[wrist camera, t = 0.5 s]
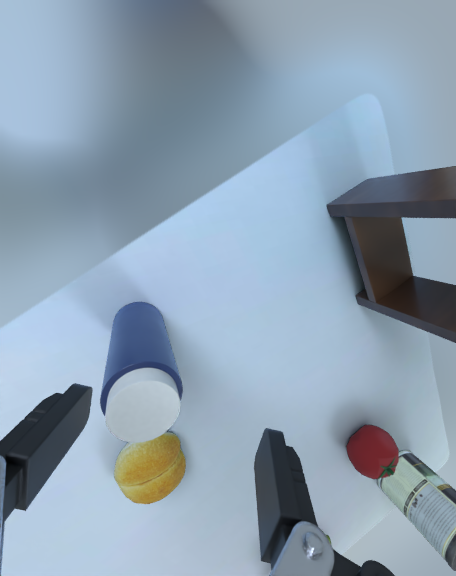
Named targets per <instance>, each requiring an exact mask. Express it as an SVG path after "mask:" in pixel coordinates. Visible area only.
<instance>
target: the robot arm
mask: <svg viewBox="0 0 456 576" xmlns="http://www.w3.org/2000/svg"><path fill="white" fill-rule="evenodd" d="M91 398H92V387H89V386H84V385H80V384H76V383H75V384H73V385H71V386H70V387H69V389H68V390H67V391H66V392H65V393H64V394H60V393H55V394H53V395H52V396H50V397H48V398H46V399H44V400H43V401H42V402H41V403H40V404H39V405H38V406H36V407H35V408H34V409H33V411H31V412H30V413H29V414H28V415H27V416H26V417H25V419H24V420H22V421H21V422H20V423H19V424H18V425H17V426H16V427H15V428H14V429H13V430H11V431H10V432H9V433H8V434H7V435H6V436H5V437H4V438H3V439H2V440H1V441H0V576H1V569H2V555H3V540H4V526H5V520H6V519H7V518H8V516H9V515H10V514H11V512H12V511H13V510H14V508H15V509H20V510H25V511H26V509H27V508H28V507H29V505H30V504H31V502H32V501H33V500H34V498H35V497H36V495H37V494H38V492H39V491H40V490H41V488H42V487H43V485H44V484H45V483H46V481H47V480H48V478H49V477H50V476H51V474H52V473H53V471H54V470H55V469H56V467H57V466H58V464H59V463H60V462H61V460H62V459H63V457H64V456H65V454H66V453H67V452H68V450H69V449H70V447H71V446H72V445H73V443H74V442H75V440H76V439H77V438H78V436H79V435H80V433H81V432H82V430H83V429H84V427H85V425H86V423H87V421H88V418H89V413H90V406H91ZM254 471H255V485H256V498H257V511H258V525H259V538H260V551H261V561H263V562H267V563H271V570H272V571H271V573H270V575H269V576H394V574H393V573H392V572H391V571H390V570H388V569H387V568H386V567H385V566H384V565H382V564H380V563H379V562H376V561H372V560H369V561H366V562H365V563H363V565H362V567H360V566H358V565H357V564H355V563H353V562H352V561H350V560H348V559H347V558H345V557H343V556H342V555H340V554H339V553H337V552H336V551H335V550H334V549H333V548H332V546H331V544H330V542H329V540H328V538H327V537H326V535H325V534H324V533H323V531H322V530H321V529H320V528H318V525H317V522H316V518H315V515H314V511H313V507H312V503H311V500H310V496H309V492H308V488H307V484H306V483H305V477H304V473H303V469H302V466H301V462H300V458H299V457H298V455H297V454H296V452H295V450H294V449H293V447H289V446H286V444H285V439H284V435H283V432H281V431H277V430H272V429H268V428H266V429H265V430H264V433H263V436H262V438H261V441H260V444H259V447H258V450H257V452H256V456H255V463H254Z"/></svg>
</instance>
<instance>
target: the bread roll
mask: <svg viewBox="0 0 456 576" xmlns="http://www.w3.org/2000/svg"><path fill="white" fill-rule="evenodd" d="M185 467H186V461H185V457H184V454H183V452H182V451H181V449H180V440H179V438H178V437H177V436H176V435H175V434H174V433H171V432H165V433H164V434H162V435H161V436H159V437H157V438H155V439H152V440H149V441H146V442H139V443H132V442H128V443H127V444H126V446H125V447H124V448H123V449H122V450H121V452H120V454H119V455H118V457H117V460H116V464H115V470H114V477H115V480H116V482H117V484H118V485H119V487H120V489H121V491H122V492H123V493H124V495H125V496H126V497H127V498H129V499H130V500H131V501H133V502H135V503H141V504H150V503H153V502H156V501H159V500H161V499H163V498H164V497H166V496H167V495H169V494H170V493H171V492H172V491H173V490H174V489H175V488H176V487H177V486H178V484H179V483H180V481H181V480H182V478H183V476H184V473H185Z"/></svg>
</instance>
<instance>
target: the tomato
mask: <svg viewBox="0 0 456 576" xmlns="http://www.w3.org/2000/svg"><path fill="white" fill-rule="evenodd" d="M346 447H347V453H348V457H349V459H350V461H351V463H352V464H353V466H354V467H355V469H356V470H357V471H358V472H360V473H361V474H362V475H364V476H367V477H369V478H372V479H380V478H386V477H388V476H389V477H390V476H391V475H394V473H395V469H396V466H397V464H398V462H399V450H398V448H397V446H396V443H395V441H394V439H393V438H392V437H391V436H390V434H389V433H388V432H386V431H385V430H383V429H381V428H379V427H377V426H373V425H364V426H363V427H362V428H361V429H359V430H358V431H357V432H356V433H355V434H354V435H353V436H351V437H350V440H349V442H348V444H347V446H346Z"/></svg>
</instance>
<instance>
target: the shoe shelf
mask: <svg viewBox="0 0 456 576" xmlns="http://www.w3.org/2000/svg"><path fill="white" fill-rule="evenodd" d="M327 208H328V211H329V214H330V216H336V217H344V218H345V222H346V225H347V228H348V232H349V235H350V238H351V242H352V245H353V248H354V252H355V255H356V258H357V262H358V265H359V268H360V272H361V275H362V278H363V282H364V285H365V288H366V289H364V290H363V291H361V292H360V293H359V294H357V295H356V299H357V302H358V304H359V305H362V306H364V307H367V308H369V309H372V310H375V311H377V312H380V313H382V314H385V315H387V316H390V317H392V318H395V319H397V320H400V321H402V322H405V323H407V324H410V325H412V326H415V327H417V328H420V329H422V330H425V331H427V332H430V333H433V334H435V335H438V336H440V337H443V338H445V339H447V340H450V341H452V342H455V343H456V285H452V284H448V283H443V282H439V281H434V280H430V279H425V278H420V277H416V276H413V273H412V268H411V263H410V258H409V253H408V248H407V243H406V238H405V233H404V229H403V224H402V219H401V217H408V218H409V217H410V218H456V166H452V167H446V168H439V169H432V170H425V171H418V172H412V173H405V174H398V175H391V176H384V177H378V178H371V179H367V180H365V181H364V182H362V183H361V184H359V185H357V186H356V187H354V188H353V189H351V190H350V191H348V192H346V193H345V194H343V195H342V196H340V197H339V198H337V199H335V200H334V201H332V202H331V203H329V204H328V205H327Z"/></svg>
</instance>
